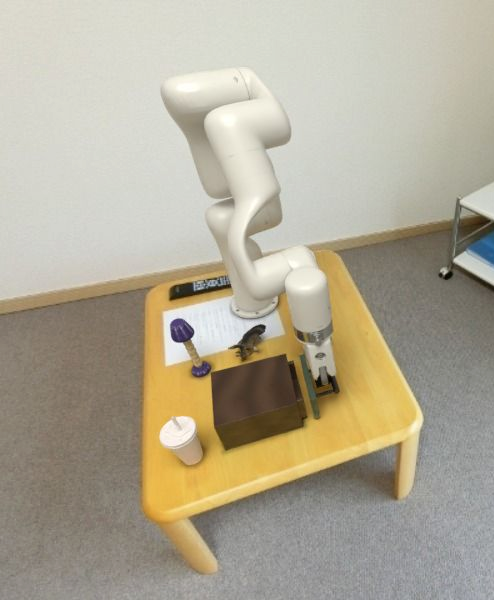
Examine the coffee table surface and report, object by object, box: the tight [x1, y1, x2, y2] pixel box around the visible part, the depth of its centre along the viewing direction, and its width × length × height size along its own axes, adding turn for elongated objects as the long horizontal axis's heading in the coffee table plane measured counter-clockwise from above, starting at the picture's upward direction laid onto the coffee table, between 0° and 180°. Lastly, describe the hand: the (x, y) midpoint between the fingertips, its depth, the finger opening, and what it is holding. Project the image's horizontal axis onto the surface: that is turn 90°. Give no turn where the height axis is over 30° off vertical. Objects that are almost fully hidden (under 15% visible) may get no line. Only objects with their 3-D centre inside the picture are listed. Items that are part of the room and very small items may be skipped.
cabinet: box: [210, 353, 304, 451], centre depth 90 cm, size 16×14×9 cm
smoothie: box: [158, 415, 204, 466], centre depth 81 cm, size 6×6×14 cm
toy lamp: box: [169, 317, 212, 378], centre depth 95 cm, size 5×5×17 cm
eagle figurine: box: [227, 323, 267, 362], centre depth 104 cm, size 8×7×9 cm
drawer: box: [288, 353, 341, 419], centre depth 92 cm, size 20×13×7 cm, turn 111°
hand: (322, 383), depth 94 cm, fingers closed
